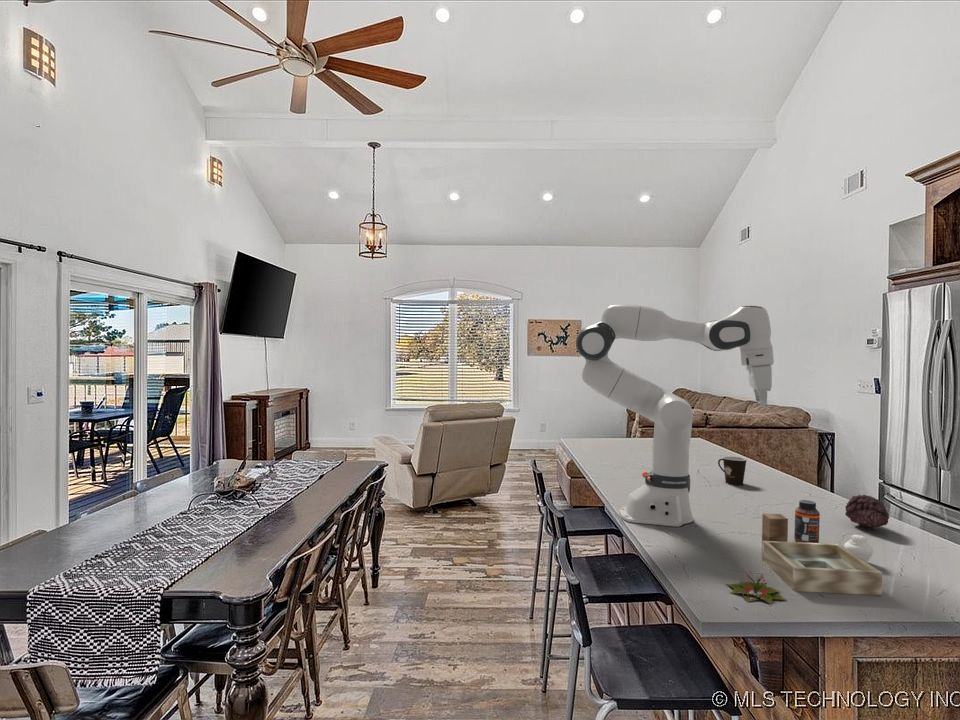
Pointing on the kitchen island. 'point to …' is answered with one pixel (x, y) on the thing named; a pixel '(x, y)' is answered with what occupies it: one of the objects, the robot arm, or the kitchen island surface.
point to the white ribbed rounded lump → (859, 547)
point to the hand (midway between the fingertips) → (761, 403)
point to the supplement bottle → (807, 522)
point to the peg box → (821, 568)
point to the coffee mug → (733, 469)
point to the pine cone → (866, 511)
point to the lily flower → (758, 587)
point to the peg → (774, 527)
